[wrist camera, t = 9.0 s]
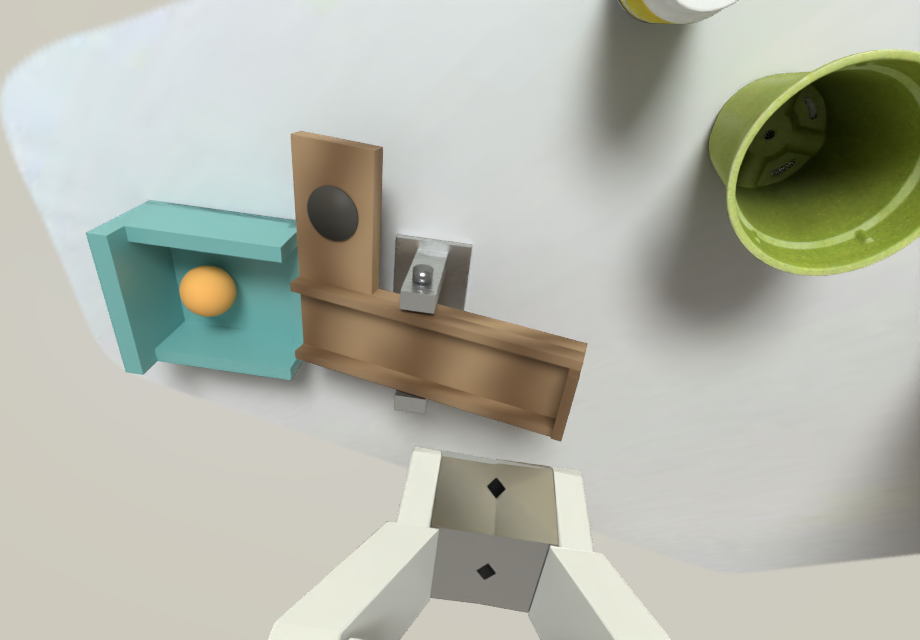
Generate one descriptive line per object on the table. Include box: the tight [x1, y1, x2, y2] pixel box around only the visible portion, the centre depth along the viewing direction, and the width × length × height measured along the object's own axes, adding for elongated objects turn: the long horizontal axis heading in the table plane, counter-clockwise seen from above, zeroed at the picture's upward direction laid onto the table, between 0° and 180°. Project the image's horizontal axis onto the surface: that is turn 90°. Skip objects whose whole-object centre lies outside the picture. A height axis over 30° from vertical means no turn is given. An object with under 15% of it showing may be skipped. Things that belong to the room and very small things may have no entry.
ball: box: [179, 265, 237, 317], centre depth 35 cm, size 4×4×4 cm
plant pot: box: [709, 49, 920, 276], centre depth 25 cm, size 9×9×9 cm
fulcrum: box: [393, 234, 472, 414], centre depth 34 cm, size 5×10×6 cm, turn 174°
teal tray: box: [86, 200, 303, 380], centre depth 34 cm, size 11×10×6 cm
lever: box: [290, 131, 587, 441], centre depth 29 cm, size 18×14×3 cm
